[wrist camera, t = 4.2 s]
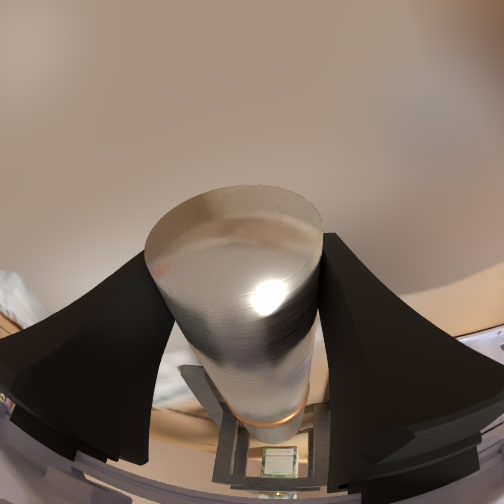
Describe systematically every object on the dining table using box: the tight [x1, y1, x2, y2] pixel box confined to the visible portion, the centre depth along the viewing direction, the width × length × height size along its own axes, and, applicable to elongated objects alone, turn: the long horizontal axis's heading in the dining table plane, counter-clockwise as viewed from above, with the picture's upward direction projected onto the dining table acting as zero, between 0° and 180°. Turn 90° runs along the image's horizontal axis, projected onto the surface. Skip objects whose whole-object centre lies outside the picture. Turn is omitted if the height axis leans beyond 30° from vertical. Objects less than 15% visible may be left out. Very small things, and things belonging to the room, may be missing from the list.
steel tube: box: [144, 185, 323, 444], centre depth 14 cm, size 20×5×5 cm, turn 7°
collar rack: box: [181, 365, 330, 496], centre depth 22 cm, size 14×24×10 cm, turn 7°
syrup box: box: [258, 447, 299, 499], centre depth 31 cm, size 6×6×14 cm
